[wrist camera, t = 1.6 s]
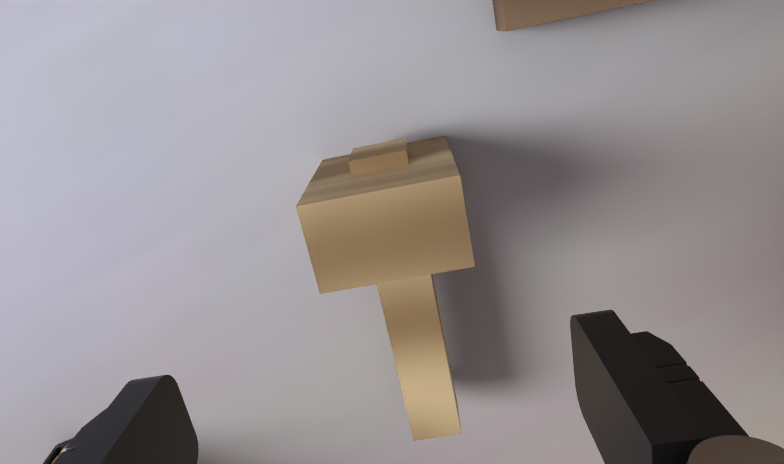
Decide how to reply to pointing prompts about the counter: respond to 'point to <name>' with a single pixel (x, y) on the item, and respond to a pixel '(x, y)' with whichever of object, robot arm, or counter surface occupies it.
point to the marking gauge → (396, 256)
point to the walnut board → (548, 10)
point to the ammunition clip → (57, 452)
